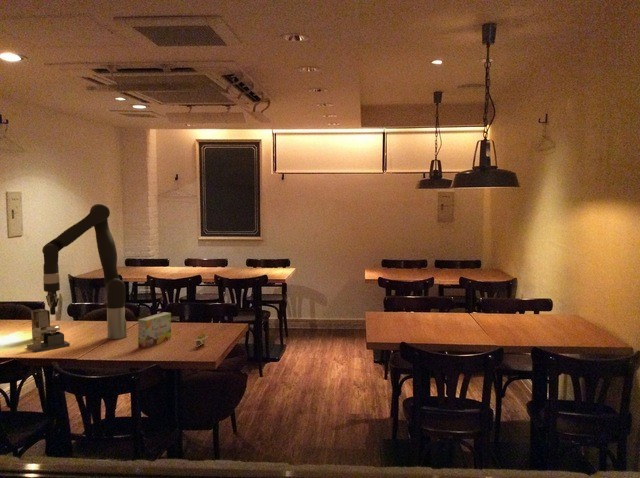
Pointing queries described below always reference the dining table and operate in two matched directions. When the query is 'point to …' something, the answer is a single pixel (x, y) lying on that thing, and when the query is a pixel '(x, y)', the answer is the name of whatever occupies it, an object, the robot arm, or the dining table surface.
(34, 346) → the stand
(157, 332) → the snack box
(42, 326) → the coffee box
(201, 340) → the pale green irregular piece
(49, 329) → the plunger
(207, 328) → the dining table surface
